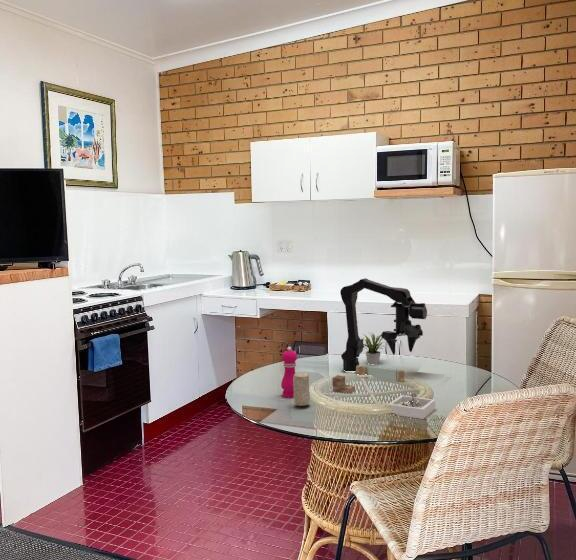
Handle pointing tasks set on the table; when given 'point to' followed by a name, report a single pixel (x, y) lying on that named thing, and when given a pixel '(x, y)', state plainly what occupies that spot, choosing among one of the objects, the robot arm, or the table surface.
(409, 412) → the tray
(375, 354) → the house plant
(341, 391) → the brown boot
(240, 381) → the table surface
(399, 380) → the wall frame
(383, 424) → the table surface
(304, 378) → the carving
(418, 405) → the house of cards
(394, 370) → the door
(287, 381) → the pepper mill
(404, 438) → the table surface
